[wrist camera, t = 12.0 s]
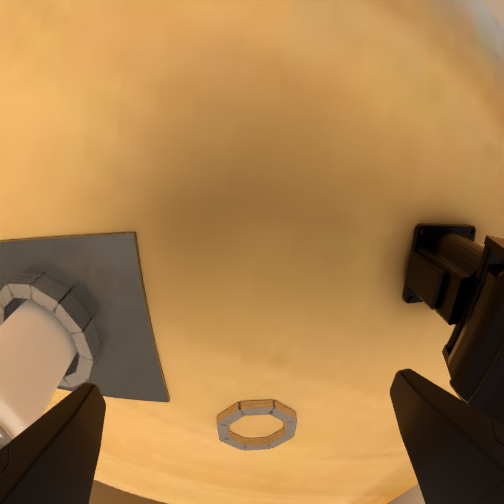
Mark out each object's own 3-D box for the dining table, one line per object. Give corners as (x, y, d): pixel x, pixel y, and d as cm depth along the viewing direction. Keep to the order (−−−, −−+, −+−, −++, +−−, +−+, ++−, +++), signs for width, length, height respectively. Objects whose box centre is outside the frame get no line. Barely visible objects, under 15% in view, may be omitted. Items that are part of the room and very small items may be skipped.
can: (51, 362, 23) (-2, 455, 11) (12, 307, 20) (-62, 390, 9) (94, 347, 22) (39, 461, 11) (51, 284, 20) (-37, 383, 9)
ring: (297, 397, 26) (299, 405, 25) (291, 439, 28) (292, 446, 27) (214, 401, 25) (214, 409, 24) (221, 443, 28) (221, 450, 27)
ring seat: (135, 231, 19) (123, 243, 17) (169, 399, 25) (166, 418, 23) (-29, 243, 18) (-44, 252, 16) (23, 378, 24) (14, 391, 22)
